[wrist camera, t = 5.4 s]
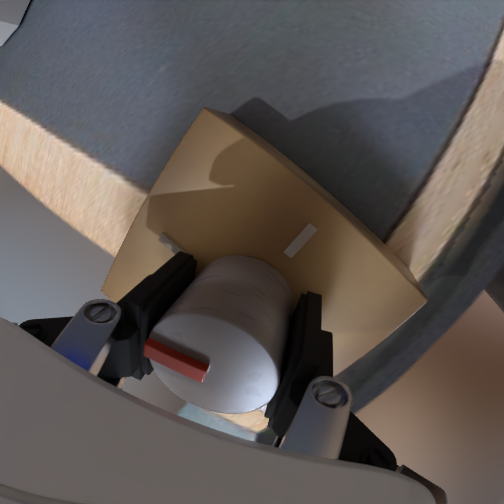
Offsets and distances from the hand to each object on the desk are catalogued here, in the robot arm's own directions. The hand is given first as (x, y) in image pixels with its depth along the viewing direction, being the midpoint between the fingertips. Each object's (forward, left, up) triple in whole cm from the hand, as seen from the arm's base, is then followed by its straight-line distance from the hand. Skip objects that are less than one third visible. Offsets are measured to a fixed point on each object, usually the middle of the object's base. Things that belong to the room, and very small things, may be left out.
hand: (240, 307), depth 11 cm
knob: (0, 0, 0) cm, 0 cm away
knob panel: (0, 0, -3) cm, 3 cm away
